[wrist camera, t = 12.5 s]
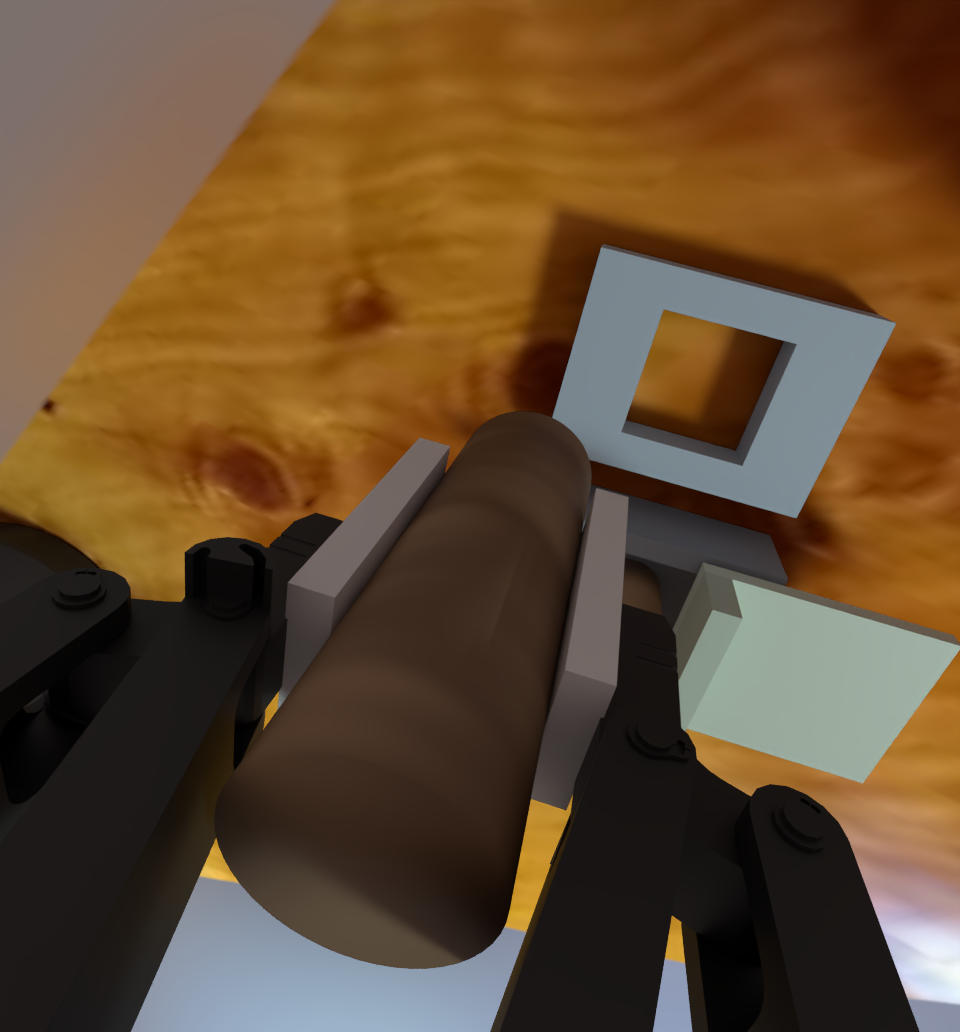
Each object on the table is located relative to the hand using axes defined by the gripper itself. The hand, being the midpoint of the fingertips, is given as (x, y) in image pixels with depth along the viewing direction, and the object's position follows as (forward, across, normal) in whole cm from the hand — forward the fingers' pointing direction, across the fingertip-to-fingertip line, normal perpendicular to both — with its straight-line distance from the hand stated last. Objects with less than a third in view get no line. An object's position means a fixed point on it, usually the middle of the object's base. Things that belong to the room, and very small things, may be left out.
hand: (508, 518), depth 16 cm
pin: (+3, 0, 0) cm, 3 cm away
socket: (+18, +6, 0) cm, 19 cm away
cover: (+13, +13, -11) cm, 22 cm away
